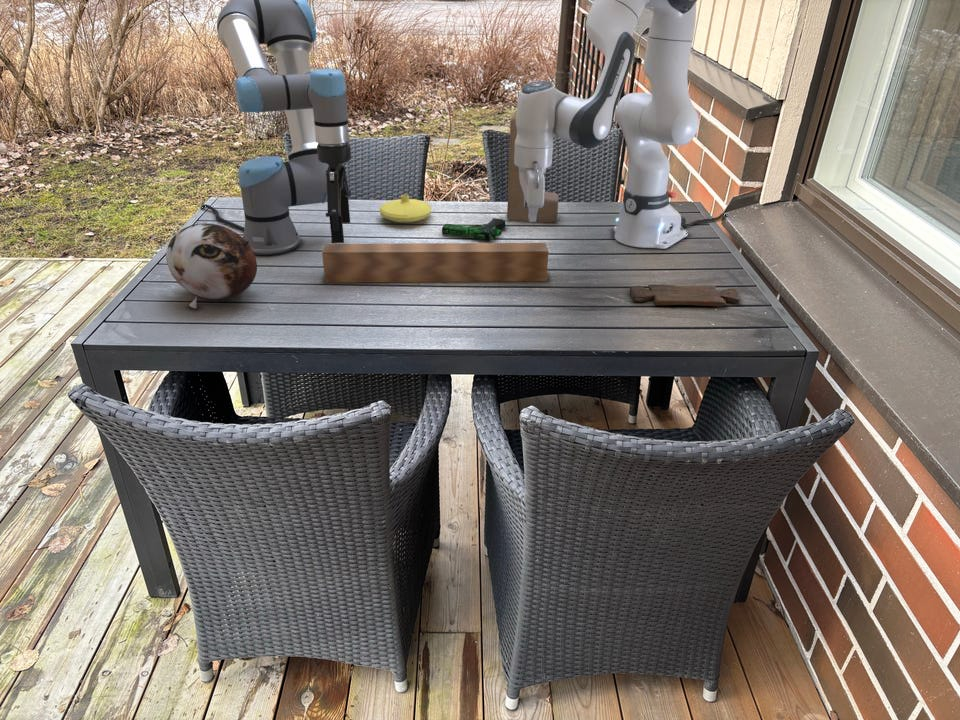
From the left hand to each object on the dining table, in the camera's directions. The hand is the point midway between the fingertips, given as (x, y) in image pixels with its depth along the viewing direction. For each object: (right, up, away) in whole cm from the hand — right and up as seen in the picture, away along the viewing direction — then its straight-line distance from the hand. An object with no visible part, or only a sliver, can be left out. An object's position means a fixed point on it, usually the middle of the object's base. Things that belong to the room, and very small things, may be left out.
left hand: (341, 232), depth 173 cm
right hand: (+46, +4, 0) cm, 46 cm away
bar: (+23, -10, +8) cm, 26 cm away
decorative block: (+50, +13, +46) cm, 69 cm away
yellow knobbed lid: (+11, +12, +44) cm, 47 cm away
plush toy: (-28, -16, -4) cm, 33 cm away
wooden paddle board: (+83, -16, -1) cm, 84 cm away
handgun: (+33, +6, +35) cm, 48 cm away
